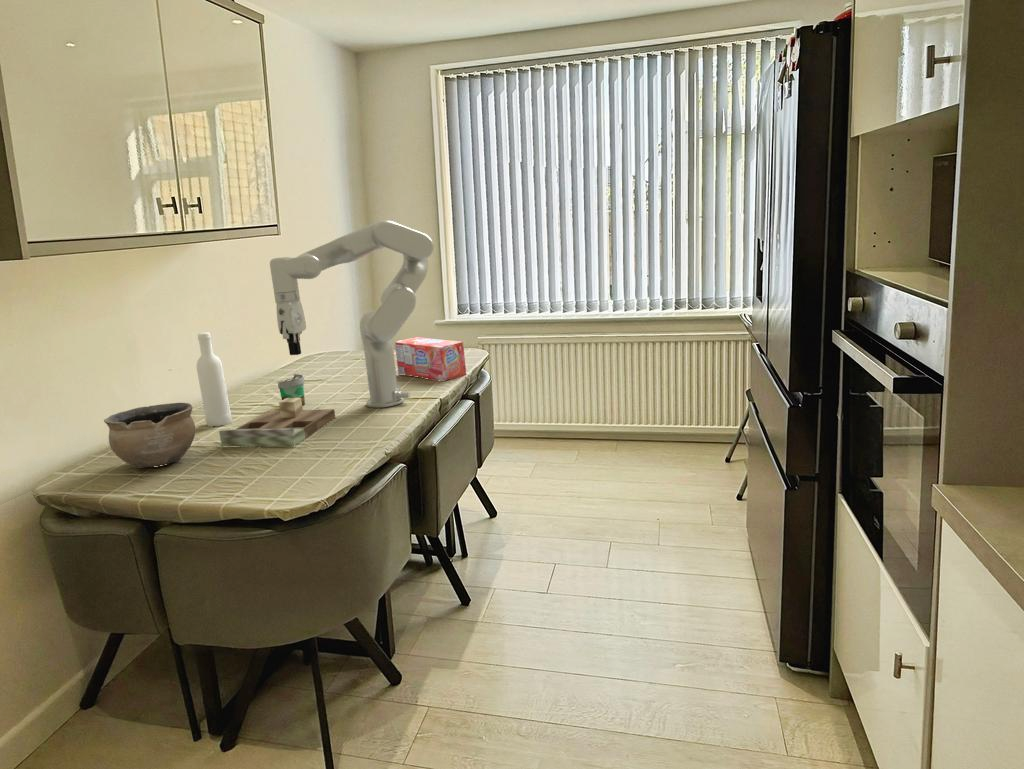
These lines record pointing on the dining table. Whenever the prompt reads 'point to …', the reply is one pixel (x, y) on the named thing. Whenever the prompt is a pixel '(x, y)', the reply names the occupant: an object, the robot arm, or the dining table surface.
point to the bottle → (212, 384)
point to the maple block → (290, 407)
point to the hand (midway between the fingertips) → (295, 354)
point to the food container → (293, 388)
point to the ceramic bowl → (152, 434)
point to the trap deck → (277, 429)
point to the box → (430, 358)
